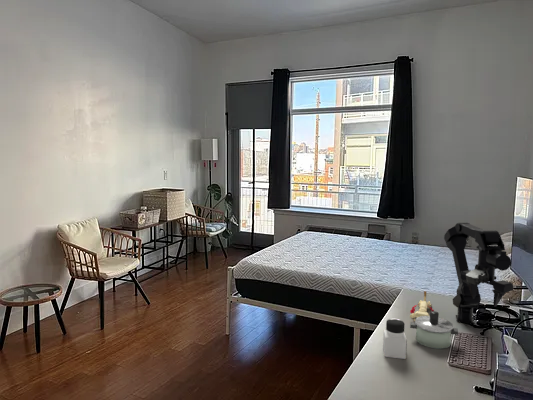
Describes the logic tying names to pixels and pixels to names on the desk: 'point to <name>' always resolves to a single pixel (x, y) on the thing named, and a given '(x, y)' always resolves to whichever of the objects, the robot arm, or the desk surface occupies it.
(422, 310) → the cat figure
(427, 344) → the pot
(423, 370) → the desk surface
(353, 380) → the desk surface
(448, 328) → the lid
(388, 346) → the medicine bottle
